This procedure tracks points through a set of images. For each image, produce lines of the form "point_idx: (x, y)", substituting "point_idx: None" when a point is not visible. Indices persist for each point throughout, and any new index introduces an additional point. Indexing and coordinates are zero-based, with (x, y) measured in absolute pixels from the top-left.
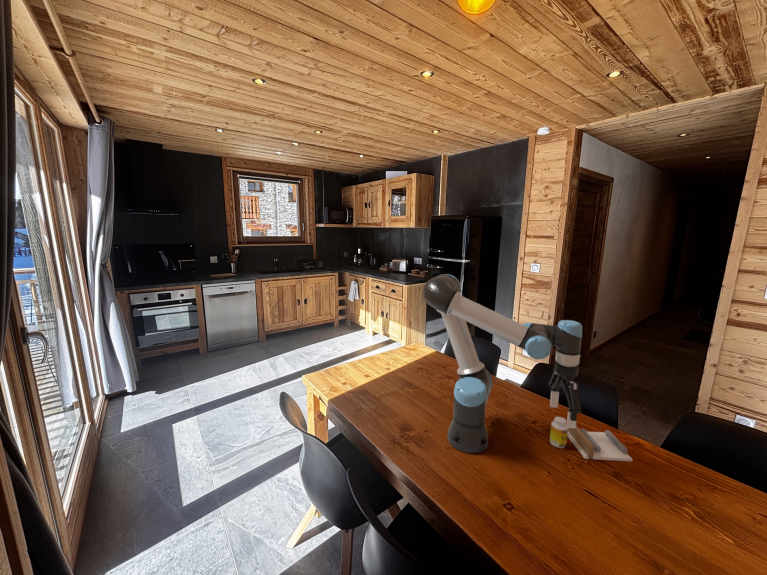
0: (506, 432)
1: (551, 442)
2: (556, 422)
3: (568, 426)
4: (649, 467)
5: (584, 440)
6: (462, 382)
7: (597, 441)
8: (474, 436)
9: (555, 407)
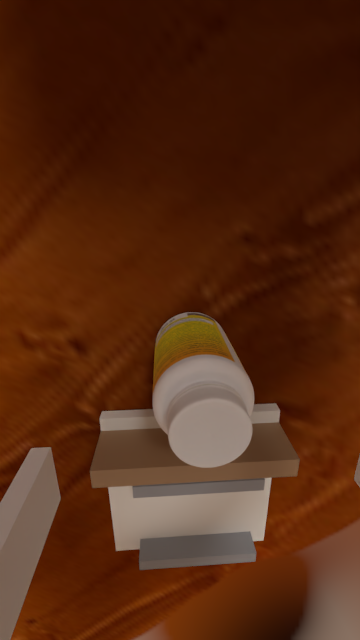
0: (282, 73)
1: (181, 315)
2: (189, 394)
3: (25, 465)
4: (97, 567)
5: (140, 465)
6: None
7: (206, 495)
8: None
9: (357, 464)
